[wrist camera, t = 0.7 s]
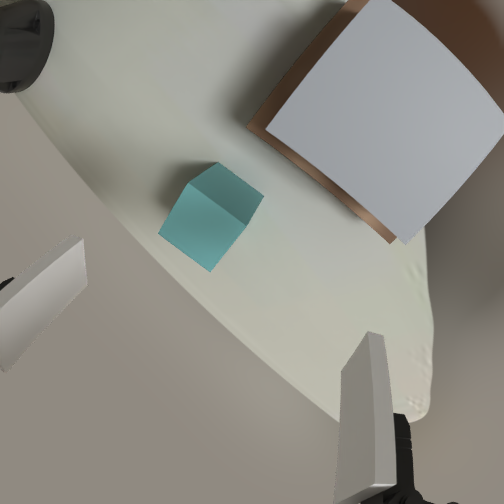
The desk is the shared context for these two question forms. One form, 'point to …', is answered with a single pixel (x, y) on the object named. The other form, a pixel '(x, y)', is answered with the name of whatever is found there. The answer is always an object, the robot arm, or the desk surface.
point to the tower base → (285, 91)
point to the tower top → (391, 118)
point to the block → (210, 215)
